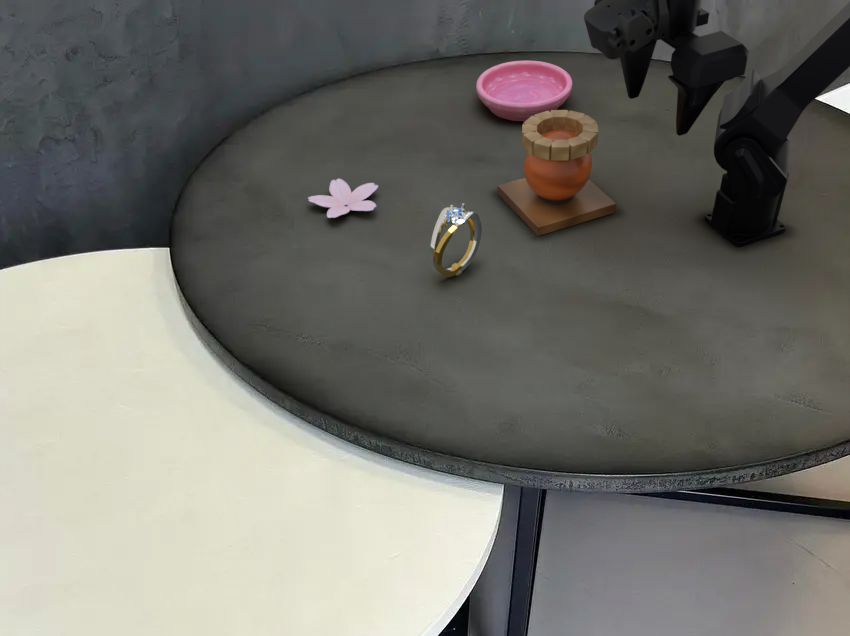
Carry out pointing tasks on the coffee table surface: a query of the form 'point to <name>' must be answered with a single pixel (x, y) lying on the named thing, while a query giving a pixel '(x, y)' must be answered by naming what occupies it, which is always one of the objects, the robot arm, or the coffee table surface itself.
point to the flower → (345, 198)
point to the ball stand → (556, 191)
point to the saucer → (523, 89)
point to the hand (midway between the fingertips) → (656, 115)
